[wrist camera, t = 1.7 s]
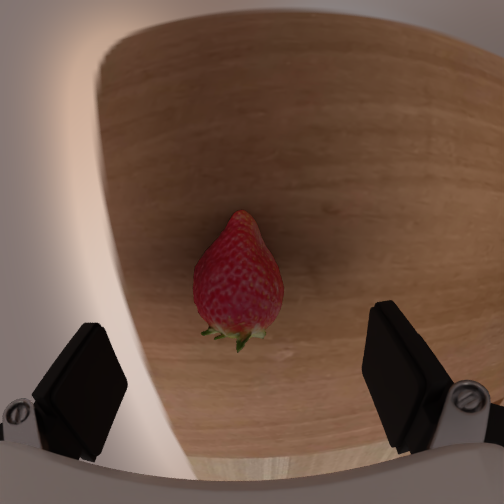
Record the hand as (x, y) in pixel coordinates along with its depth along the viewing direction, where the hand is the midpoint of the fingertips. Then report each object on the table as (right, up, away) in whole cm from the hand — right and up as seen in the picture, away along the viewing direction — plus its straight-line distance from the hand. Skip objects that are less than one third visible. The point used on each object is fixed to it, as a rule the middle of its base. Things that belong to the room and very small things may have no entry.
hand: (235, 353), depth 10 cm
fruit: (0, +3, +6) cm, 7 cm away
